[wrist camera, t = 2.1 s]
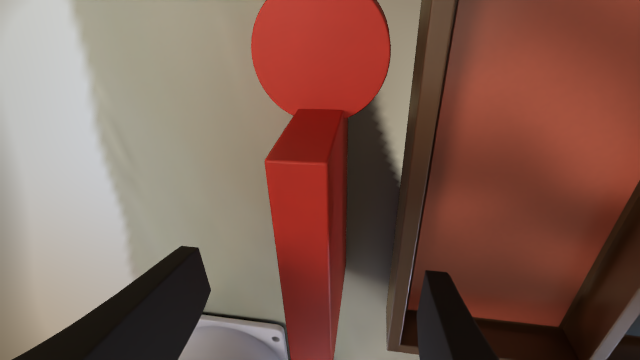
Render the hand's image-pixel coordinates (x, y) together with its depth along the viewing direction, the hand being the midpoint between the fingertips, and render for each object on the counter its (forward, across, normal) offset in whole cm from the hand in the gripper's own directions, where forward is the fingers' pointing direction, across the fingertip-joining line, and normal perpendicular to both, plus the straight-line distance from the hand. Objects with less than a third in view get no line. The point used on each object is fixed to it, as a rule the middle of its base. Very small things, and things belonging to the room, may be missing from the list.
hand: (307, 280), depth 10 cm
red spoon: (+5, 0, -2) cm, 6 cm away
